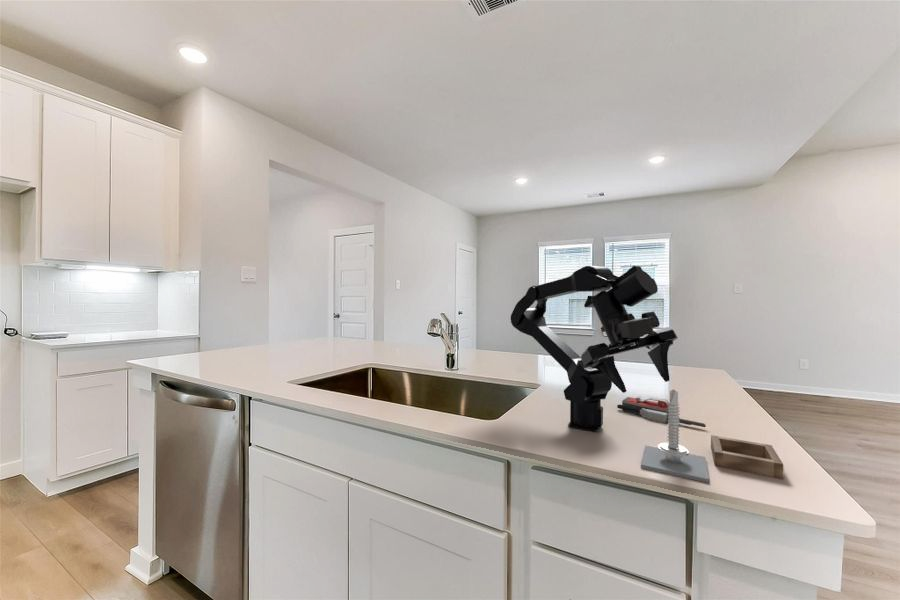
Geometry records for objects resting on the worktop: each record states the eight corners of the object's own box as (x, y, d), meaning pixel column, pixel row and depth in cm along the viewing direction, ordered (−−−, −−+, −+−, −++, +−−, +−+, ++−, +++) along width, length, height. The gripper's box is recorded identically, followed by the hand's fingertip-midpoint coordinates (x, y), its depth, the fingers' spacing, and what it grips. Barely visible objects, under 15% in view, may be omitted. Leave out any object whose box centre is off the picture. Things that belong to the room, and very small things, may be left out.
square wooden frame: (714, 465, 68) (714, 451, 67) (710, 447, 76) (711, 435, 76) (783, 479, 63) (783, 464, 63) (771, 458, 71) (771, 445, 71)
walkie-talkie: (613, 413, 98) (704, 433, 85) (614, 396, 98) (705, 413, 85) (625, 406, 105) (711, 423, 91) (625, 390, 105) (711, 405, 91)
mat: (640, 467, 66) (640, 464, 66) (645, 448, 75) (645, 445, 75) (709, 482, 61) (709, 479, 61) (705, 460, 70) (705, 456, 70)
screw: (694, 466, 66) (666, 465, 66) (678, 454, 70) (652, 454, 71) (695, 393, 65) (667, 392, 66) (679, 386, 70) (653, 385, 70)
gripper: (584, 311, 73) (618, 389, 66) (672, 290, 75) (714, 364, 68) (569, 331, 83) (597, 400, 76) (646, 313, 85) (680, 379, 78)
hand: (646, 386), depth 74 cm, fingers open, 9 cm apart
